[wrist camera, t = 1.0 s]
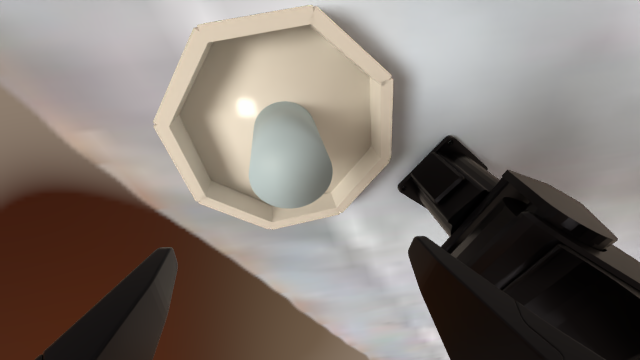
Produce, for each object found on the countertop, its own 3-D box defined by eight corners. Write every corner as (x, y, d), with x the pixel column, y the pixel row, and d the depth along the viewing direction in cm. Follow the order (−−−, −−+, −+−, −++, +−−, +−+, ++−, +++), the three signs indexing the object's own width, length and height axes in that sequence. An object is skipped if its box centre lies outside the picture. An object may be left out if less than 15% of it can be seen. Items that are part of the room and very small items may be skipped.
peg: (327, 123, 19) (349, 164, 14) (294, 168, 20) (302, 218, 15) (274, 88, 17) (277, 121, 12) (242, 140, 18) (233, 189, 13)
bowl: (416, 103, 19) (433, 114, 17) (308, 225, 25) (311, 245, 23) (240, -57, 13) (235, -70, 11) (144, 158, 18) (129, 177, 16)
